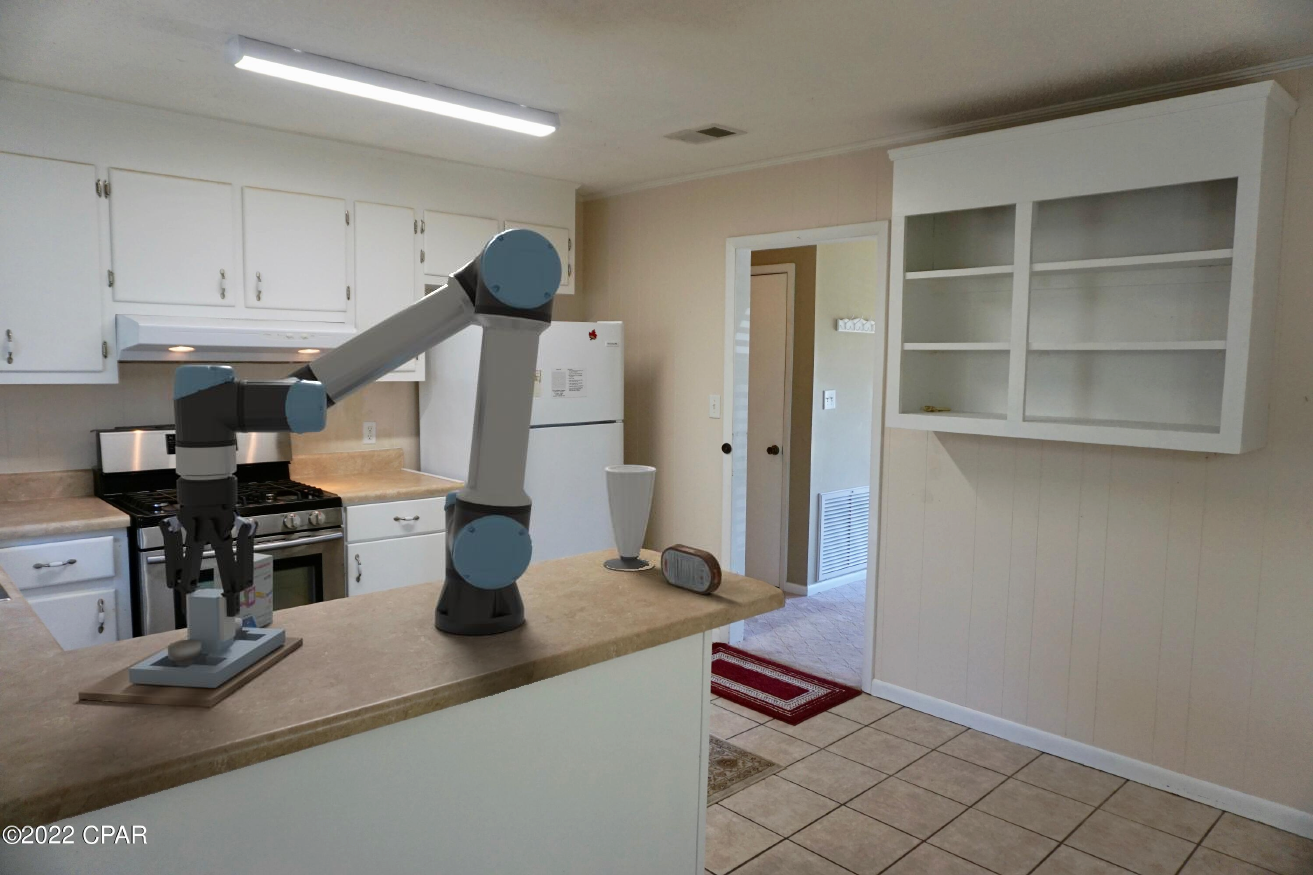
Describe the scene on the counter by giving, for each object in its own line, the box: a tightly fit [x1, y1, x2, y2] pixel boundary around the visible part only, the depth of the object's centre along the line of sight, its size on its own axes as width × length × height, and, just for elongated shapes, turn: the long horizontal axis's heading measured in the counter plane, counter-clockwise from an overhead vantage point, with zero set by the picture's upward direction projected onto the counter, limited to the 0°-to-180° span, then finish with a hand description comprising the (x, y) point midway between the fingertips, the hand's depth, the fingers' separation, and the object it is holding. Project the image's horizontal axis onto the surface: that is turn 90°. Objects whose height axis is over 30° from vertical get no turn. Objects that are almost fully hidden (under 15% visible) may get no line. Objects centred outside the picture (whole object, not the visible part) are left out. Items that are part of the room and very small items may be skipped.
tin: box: [660, 543, 723, 595], centre depth 168 cm, size 15×3×8 cm, turn 43°
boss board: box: [78, 617, 304, 708], centre depth 121 cm, size 18×24×6 cm
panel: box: [129, 588, 286, 688], centre depth 121 cm, size 12×18×10 cm, turn 175°
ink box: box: [213, 552, 274, 628], centre depth 139 cm, size 9×5×12 cm, turn 168°
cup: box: [603, 464, 658, 569], centre depth 186 cm, size 12×12×22 cm
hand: (211, 636), depth 121 cm, fingers closed on panel, 4 cm apart
